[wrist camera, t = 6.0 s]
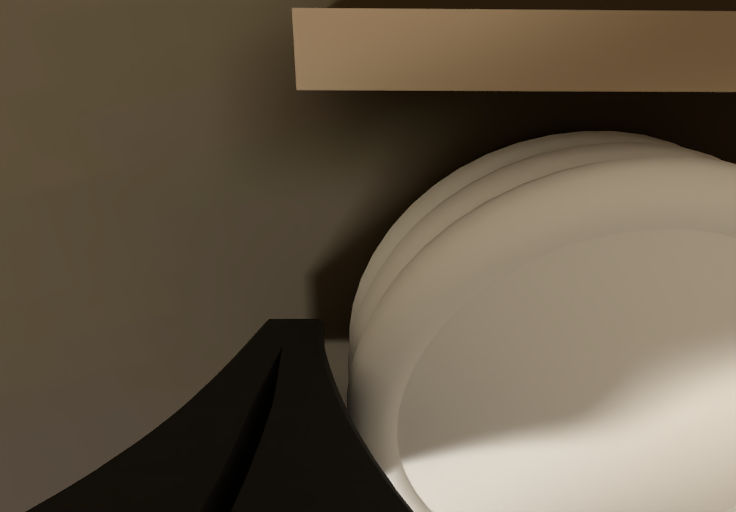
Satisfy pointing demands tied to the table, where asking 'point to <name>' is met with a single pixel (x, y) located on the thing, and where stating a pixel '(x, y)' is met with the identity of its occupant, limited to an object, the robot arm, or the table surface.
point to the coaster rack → (514, 50)
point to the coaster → (556, 332)
